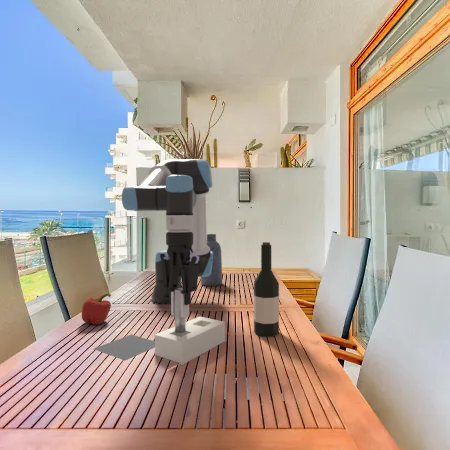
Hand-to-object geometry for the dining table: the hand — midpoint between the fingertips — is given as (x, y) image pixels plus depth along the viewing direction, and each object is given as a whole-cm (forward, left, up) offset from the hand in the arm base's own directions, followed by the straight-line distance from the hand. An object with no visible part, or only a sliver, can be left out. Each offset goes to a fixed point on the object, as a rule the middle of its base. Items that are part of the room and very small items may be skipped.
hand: (180, 314), depth 94 cm
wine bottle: (+12, +29, -11) cm, 33 cm away
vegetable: (-44, +4, -11) cm, 46 cm away
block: (0, +5, -11) cm, 12 cm away
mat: (-16, -5, -11) cm, 20 cm away
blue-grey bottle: (-50, +82, -11) cm, 97 cm away
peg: (0, 0, -5) cm, 5 cm away
